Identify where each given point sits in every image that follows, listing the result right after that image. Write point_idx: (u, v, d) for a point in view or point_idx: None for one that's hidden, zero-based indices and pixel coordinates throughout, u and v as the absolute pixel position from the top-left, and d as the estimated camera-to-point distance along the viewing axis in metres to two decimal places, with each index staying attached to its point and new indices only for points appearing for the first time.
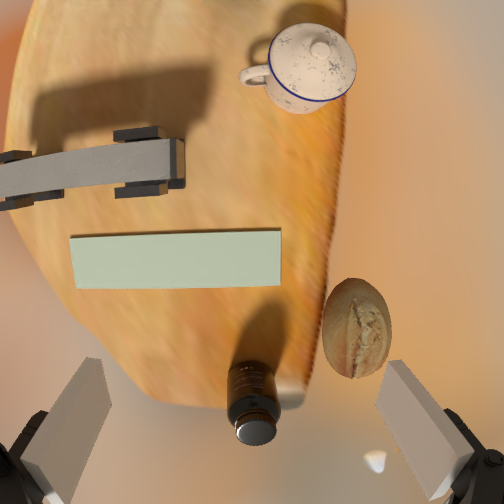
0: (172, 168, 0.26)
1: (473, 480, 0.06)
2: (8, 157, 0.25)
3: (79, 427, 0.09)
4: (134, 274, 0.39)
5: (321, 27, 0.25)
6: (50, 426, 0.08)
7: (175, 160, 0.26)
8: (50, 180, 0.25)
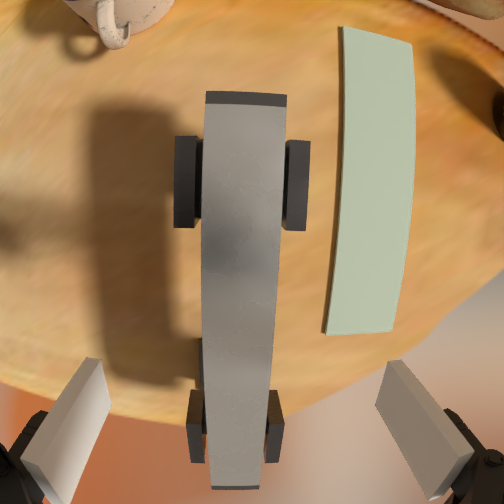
0: (266, 101, 0.13)
1: (473, 480, 0.06)
2: (196, 432, 0.18)
3: (79, 427, 0.09)
4: (390, 238, 0.26)
5: None
6: (50, 426, 0.08)
7: (250, 94, 0.13)
8: (253, 361, 0.16)
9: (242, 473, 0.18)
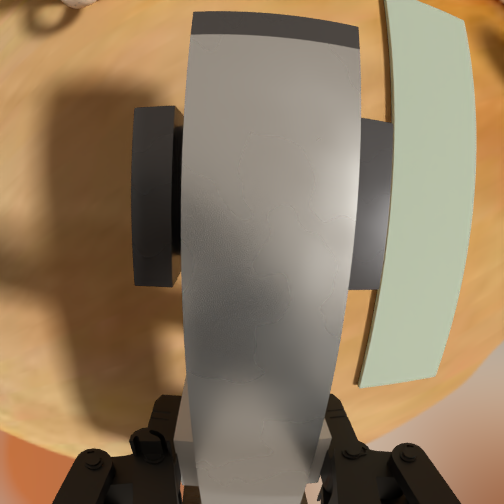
0: (319, 33, 0.05)
1: (334, 478, 0.07)
2: None
3: None
4: (445, 265, 0.19)
5: None
6: None
7: (287, 18, 0.05)
8: (278, 486, 0.08)
9: None
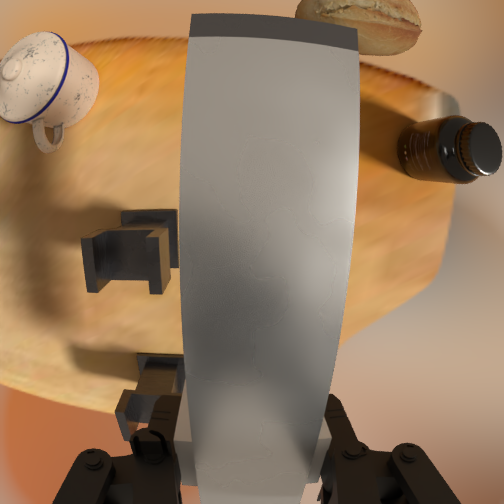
0: (317, 35, 0.05)
1: (334, 478, 0.07)
2: (122, 418, 0.26)
3: None
4: None
5: None
6: None
7: (285, 20, 0.05)
8: (277, 487, 0.08)
9: None
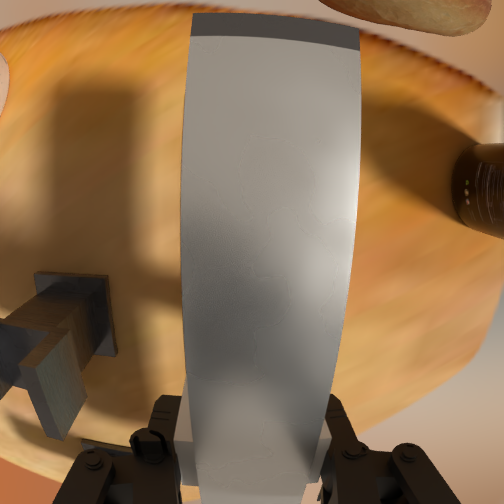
0: (319, 35, 0.05)
1: (334, 478, 0.07)
2: None
3: None
4: None
5: None
6: None
7: (287, 20, 0.05)
8: (277, 487, 0.08)
9: None
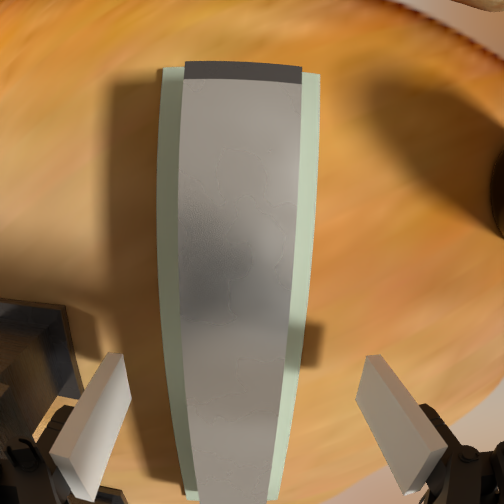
0: (272, 74, 0.08)
1: (447, 477, 0.06)
2: None
3: (104, 420, 0.10)
4: None
5: None
6: (78, 419, 0.08)
7: (249, 65, 0.08)
8: (253, 426, 0.11)
9: None
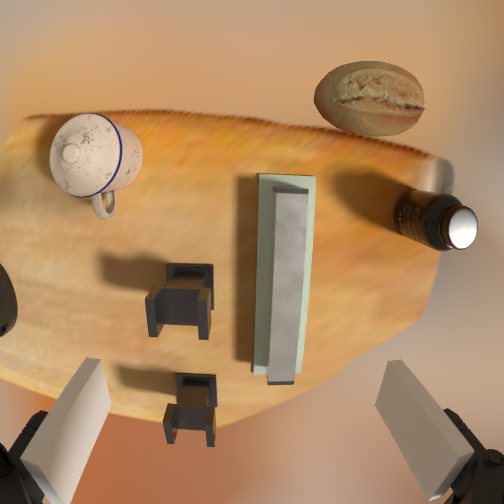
0: (300, 191, 0.34)
1: (473, 480, 0.06)
2: (168, 426, 0.35)
3: (79, 427, 0.09)
4: None
5: (52, 150, 0.28)
6: (50, 426, 0.08)
7: (294, 189, 0.34)
8: (294, 300, 0.37)
9: (285, 370, 0.39)
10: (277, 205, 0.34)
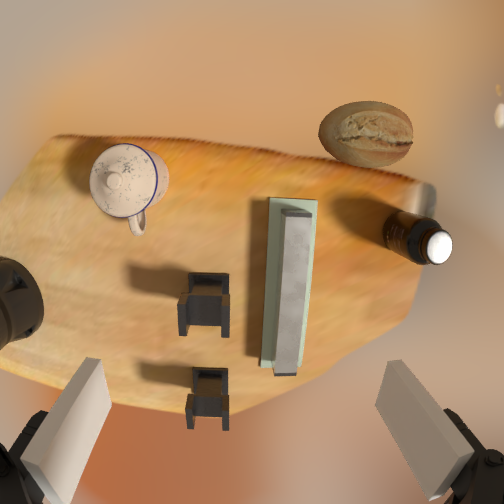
0: (305, 215, 0.42)
1: (473, 480, 0.06)
2: (189, 413, 0.42)
3: (79, 427, 0.09)
4: None
5: (92, 175, 0.34)
6: (50, 426, 0.08)
7: (300, 213, 0.41)
8: (298, 304, 0.44)
9: (289, 363, 0.47)
10: (286, 226, 0.42)
